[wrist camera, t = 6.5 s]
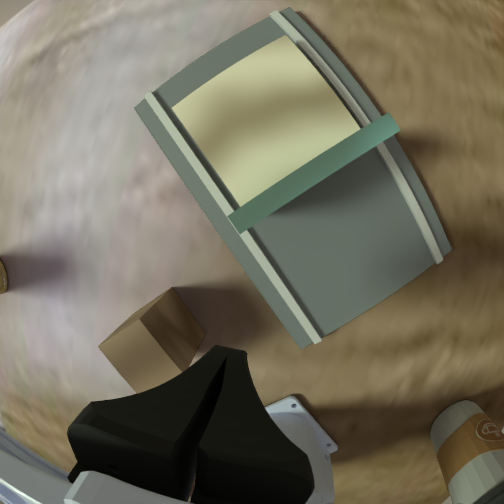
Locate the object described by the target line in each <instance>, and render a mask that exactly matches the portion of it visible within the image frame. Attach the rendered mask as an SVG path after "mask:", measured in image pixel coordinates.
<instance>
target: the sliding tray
mask: <svg viewBox="0 0 504 504" xmlns="http://www.w3.org/2000/svg"><path fill="white" fill-rule="evenodd" d="M172 110H173V111H174V113H175V114H176V115H177V117H178V118H179V120H180V121H181V122H182V124H183V125H184V127H185V128H186V129H187V131H188V132H189V134H190V135H191V136H192V138H193V139H194V141H195V142H196V144H197V145H198V146H199V148H200V149H201V151H202V152H203V154H204V155H205V156H206V158H207V159H208V161H209V162H210V164H211V165H212V166H213V168H214V169H215V171H216V172H217V174H218V175H219V176H220V178H221V179H222V181H223V182H224V184H225V185H226V187H227V188H228V189H229V191H230V192H231V194H232V195H233V197H234V198H235V200H236V201H237V202H238V204H239V205H240V208H238V209H237V210H235V211H234V212H232V213H231V214H230V215H228V216H227V217H228V218H229V220H230V221H231V222H232V224H233V225H234V227H235V228H236V230H237V231H238V233H239V234H241V233H243V232H244V231H246V230H247V229H249V228H250V227H252V226H253V225H255V224H256V223H258V222H259V221H261V220H262V219H264V218H265V217H267V216H268V215H270V214H271V213H273V212H274V211H276V210H277V209H279V208H280V207H282V206H283V205H285V204H286V203H288V202H290V201H291V200H293V199H294V198H296V197H297V196H299V195H300V194H302V193H303V192H305V191H306V190H308V189H309V188H311V187H312V186H314V185H316V184H317V183H319V182H320V181H322V180H323V179H325V178H326V177H328V176H329V175H331V174H333V173H334V172H336V171H337V170H339V169H340V168H342V167H343V166H345V165H347V164H348V163H350V162H351V161H353V160H354V159H356V158H358V157H359V156H361V155H362V154H364V153H365V152H367V151H369V150H370V149H372V148H373V147H375V146H377V145H378V144H380V143H381V142H383V141H384V140H386V139H388V138H389V137H391V136H392V135H394V134H396V133H397V132H399V131H401V130H400V129H399V127H398V126H397V124H396V122H395V121H394V119H393V118H392V116H391V115H390V113H389V112H388V113H387V114H385V115H383V116H382V117H380V118H378V119H377V120H375V121H373V122H372V123H370V124H368V125H367V126H365V127H363V128H362V129H360V127H359V126H358V124H357V123H356V121H355V120H354V119H353V117H352V116H351V114H350V113H349V111H348V110H347V109H346V107H345V106H344V105H343V103H342V102H341V100H340V99H339V98H338V96H337V95H336V94H335V92H334V91H333V90H332V89H331V87H330V86H329V85H328V83H327V82H326V81H325V80H324V78H323V77H322V76H321V75H320V73H319V72H318V71H317V70H316V69H315V67H314V66H313V65H312V64H311V63H310V61H309V60H308V59H307V58H306V57H305V56H304V54H303V53H302V52H301V51H300V50H299V49H298V48H297V47H296V45H295V44H294V43H293V42H292V41H291V40H290V39H289V38H288V37H287V36H286V35H284V36H283V37H281V38H279V39H277V40H275V41H273V42H271V43H269V44H268V45H266V46H264V47H262V48H260V49H259V50H257V51H255V52H254V53H252V54H250V55H248V56H247V57H245V58H243V59H242V60H240V61H239V62H237V63H235V64H234V65H232V66H231V67H229V68H227V69H226V70H224V71H223V72H221V73H220V74H218V75H217V76H215V77H214V78H212V79H211V80H209V81H208V82H206V83H205V84H203V85H202V86H201V87H199V88H198V89H196V90H195V91H194V92H192V93H191V94H189V95H188V96H187V97H185V98H184V99H183V100H181V101H180V102H179V103H177V104H176V105H175V106H174V107H172Z"/></svg>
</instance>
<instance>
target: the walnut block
mask: <svg viewBox="0 0 504 504" xmlns="http://www.w3.org/2000/svg"><path fill="white" fill-rule="evenodd" d="M205 334H206V332H205V331H204V329H203V328H202V327H201V326H200V324H199V323H198V322H197V320H196V319H195V318H194V316H193V315H192V314H191V312H190V311H189V310H188V308H187V307H186V306H185V304H184V303H183V302H182V300H181V299H180V298H179V296H178V295H177V294H176V292H175V291H174V289H173V288H172V287H171V288H170V289H168V290H167V291H166V292H164V293H163V294H161V295H160V296H158V297H157V298H155V299H154V300H152V301H151V302H149V303H148V304H147V305H145V306H144V307H142V308H141V309H139V310H138V311H136V312H135V313H134V314H132V315H131V316H130V317H129V318H128V319H127V320H126V321H125V322H124V323H123V324H122V325H120V326H119V327H118V328H117V329H116V330H115V331H114V332H113V333H112V334H111V335H110V336H109V337H108V338H106V339H105V340H104V341H103V342H102V343H101V344H100V345H99V346H98V347H99V349H100V350H101V351H102V352H103V354H104V355H105V356H106V357H107V359H108V360H109V361H110V362H111V364H112V365H113V366H114V367H115V368H116V370H117V371H118V372H119V373H120V374H121V376H122V377H123V378H124V379H125V380H126V381H127V383H128V384H129V385H130V386H131V387H132V388H133V389H134V390H135V392H136V393H137V394H138V393H141V392H144V391H146V390H149V389H152V388H154V387H157V386H159V385H161V384H163V383H165V382H167V381H169V380H171V379H172V378H174V377H176V376H177V375H179V374H180V373H182V372H183V371H185V370H186V369H188V368H189V366H190V364H191V362H192V360H193V358H194V356H195V354H196V352H197V350H198V348H199V346H200V344H201V342H202V340H203V338H204V336H205Z"/></svg>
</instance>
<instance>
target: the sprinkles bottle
mask: <svg viewBox="0 0 504 504" xmlns="http://www.w3.org/2000/svg"><path fill="white" fill-rule="evenodd" d="M6 289H7V274H6V271H5V268H4V266H3V264H2V262H1V261H0V294H3V293H4V292H5V291H6Z"/></svg>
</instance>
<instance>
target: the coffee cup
mask: <svg viewBox="0 0 504 504" xmlns="http://www.w3.org/2000/svg"><path fill="white" fill-rule="evenodd" d="M430 436H431V440H432V443H433V446H434V448H435V451H436V454H437V459H438V462H439V465H440V468H441V471H442V474H443V477H444V480H445V483H446V486H447V489H448V491H449V493H450V496H451V500H452V503H453V504H457V503H462V504H504V434H503V433H502V432H501V430H500V429H499V428H498V427H497V426H496V425H495V423H494V422H493V421H492V420H491V419H490V418H489V417H488V416H487V415H486V414H485V413H484V412H483V411H482V410H481V408H480V407H479V406H478V405H477V404H476V403H474V402H471V401H469V400H463V401H459V402H457V403H455V404H453V405H451V406H449V407H448V408H447V409H445V410H444V411H443V412H442V413H441V414H440V415H439V416H438V417H437V418H436V420H435V421H434V423H433V425H432V428H431V434H430Z"/></svg>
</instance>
